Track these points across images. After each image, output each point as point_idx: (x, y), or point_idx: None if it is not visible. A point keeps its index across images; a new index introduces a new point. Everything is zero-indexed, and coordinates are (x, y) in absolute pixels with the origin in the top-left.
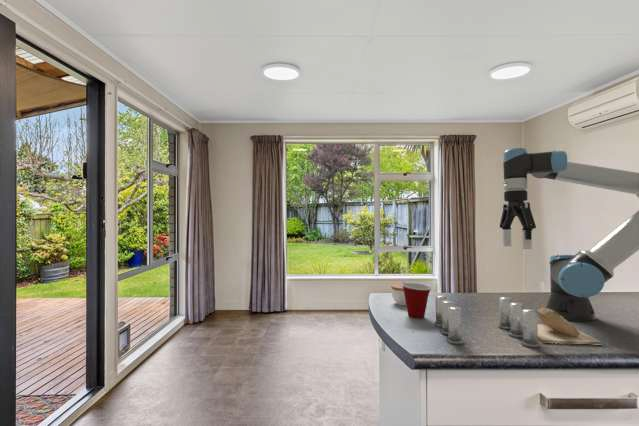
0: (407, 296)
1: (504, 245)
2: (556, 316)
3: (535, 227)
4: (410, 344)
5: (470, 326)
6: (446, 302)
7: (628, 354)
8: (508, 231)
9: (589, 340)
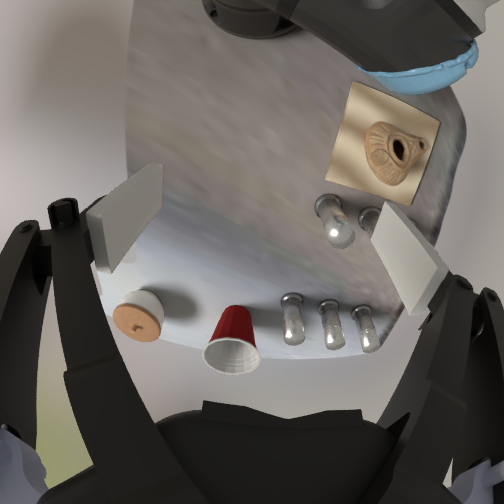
0: (240, 355)
1: (160, 208)
2: (410, 165)
3: (494, 294)
4: (347, 349)
5: (305, 261)
6: (338, 346)
7: (463, 123)
8: (113, 229)
9: (430, 133)
